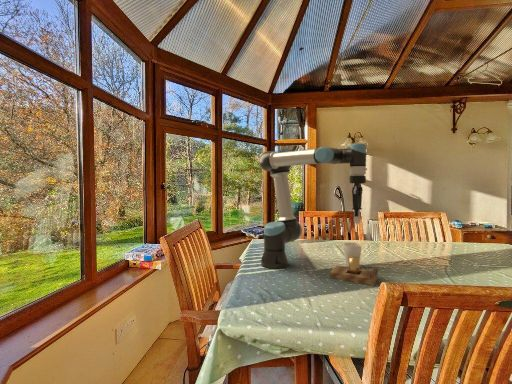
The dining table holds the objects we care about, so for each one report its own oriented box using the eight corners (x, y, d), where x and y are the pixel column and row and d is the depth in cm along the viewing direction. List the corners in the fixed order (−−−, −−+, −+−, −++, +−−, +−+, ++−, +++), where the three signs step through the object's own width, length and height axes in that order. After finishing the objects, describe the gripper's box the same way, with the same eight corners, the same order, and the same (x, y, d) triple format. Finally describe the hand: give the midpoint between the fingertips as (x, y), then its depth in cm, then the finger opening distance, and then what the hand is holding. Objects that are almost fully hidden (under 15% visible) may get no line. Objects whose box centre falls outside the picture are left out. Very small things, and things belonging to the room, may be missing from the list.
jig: (329, 277, 140) (329, 267, 140) (336, 270, 150) (336, 261, 150) (373, 286, 130) (373, 275, 130) (377, 277, 140) (377, 267, 140)
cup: (349, 269, 153) (350, 246, 153) (340, 264, 162) (340, 243, 161) (364, 267, 156) (364, 245, 155) (354, 262, 164) (354, 242, 164)
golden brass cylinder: (347, 278, 139) (347, 258, 139) (349, 275, 144) (350, 255, 143) (358, 280, 137) (358, 259, 136) (360, 277, 141) (360, 257, 140)
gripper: (362, 175, 134) (362, 225, 135) (368, 175, 145) (367, 221, 146) (346, 175, 138) (345, 224, 139) (352, 175, 149) (352, 220, 150)
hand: (356, 222), depth 143 cm, fingers closed
